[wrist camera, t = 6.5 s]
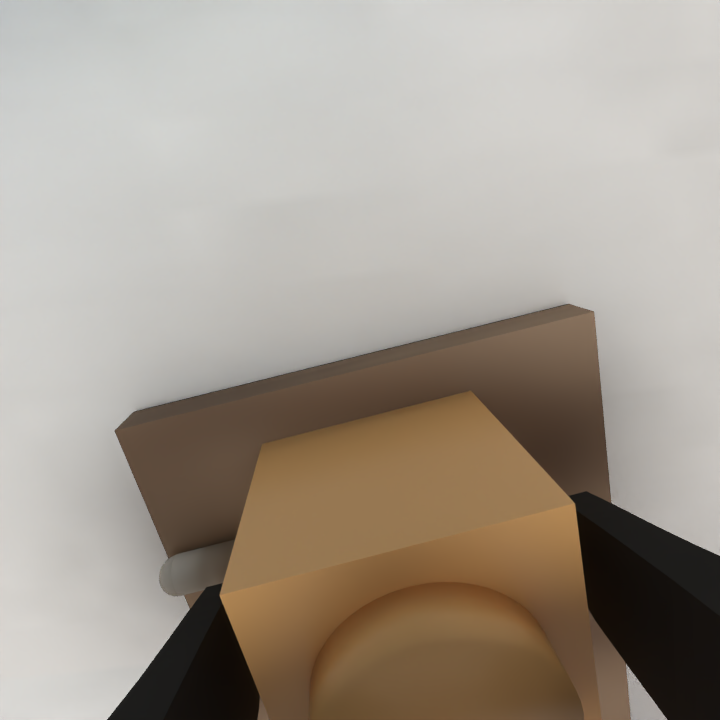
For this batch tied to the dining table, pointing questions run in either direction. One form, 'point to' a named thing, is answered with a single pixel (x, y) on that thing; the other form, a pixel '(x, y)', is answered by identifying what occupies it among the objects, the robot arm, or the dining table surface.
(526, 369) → the junction board
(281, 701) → the cube with round boss
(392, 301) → the dining table surface
